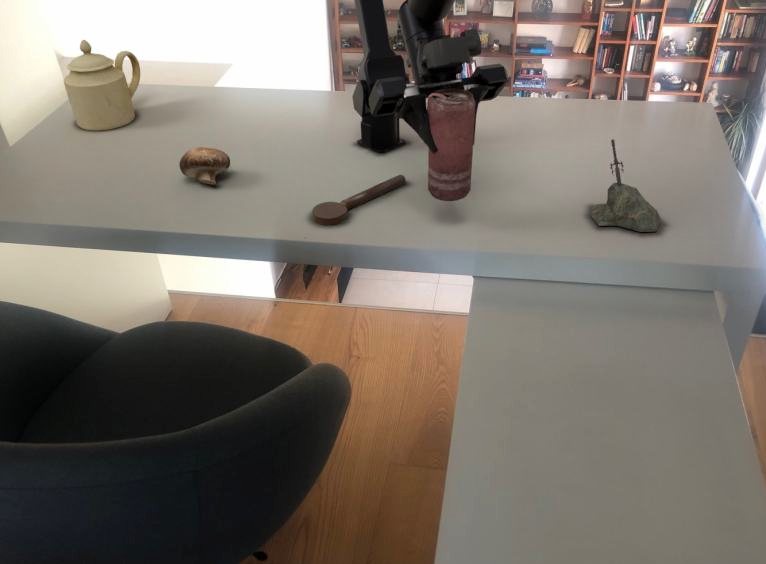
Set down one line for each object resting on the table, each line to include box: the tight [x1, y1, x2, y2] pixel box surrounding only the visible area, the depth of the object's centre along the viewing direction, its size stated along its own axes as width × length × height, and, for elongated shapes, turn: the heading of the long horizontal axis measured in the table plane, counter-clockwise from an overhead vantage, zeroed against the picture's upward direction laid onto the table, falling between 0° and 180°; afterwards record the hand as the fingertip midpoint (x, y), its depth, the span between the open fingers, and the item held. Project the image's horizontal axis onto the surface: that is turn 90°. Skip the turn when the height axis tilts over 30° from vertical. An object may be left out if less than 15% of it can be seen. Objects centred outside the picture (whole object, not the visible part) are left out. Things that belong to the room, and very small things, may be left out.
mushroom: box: [178, 146, 231, 186], centre depth 113 cm, size 8×8×6 cm
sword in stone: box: [590, 138, 662, 233], centre depth 99 cm, size 10×8×12 cm
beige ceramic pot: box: [63, 39, 141, 131], centre depth 133 cm, size 15×11×15 cm
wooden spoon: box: [311, 174, 407, 226], centre depth 107 cm, size 18×5×2 cm, turn 135°
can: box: [426, 89, 475, 202], centre depth 95 cm, size 6×6×14 cm
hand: (453, 149), depth 94 cm, fingers closed on can, 5 cm apart
